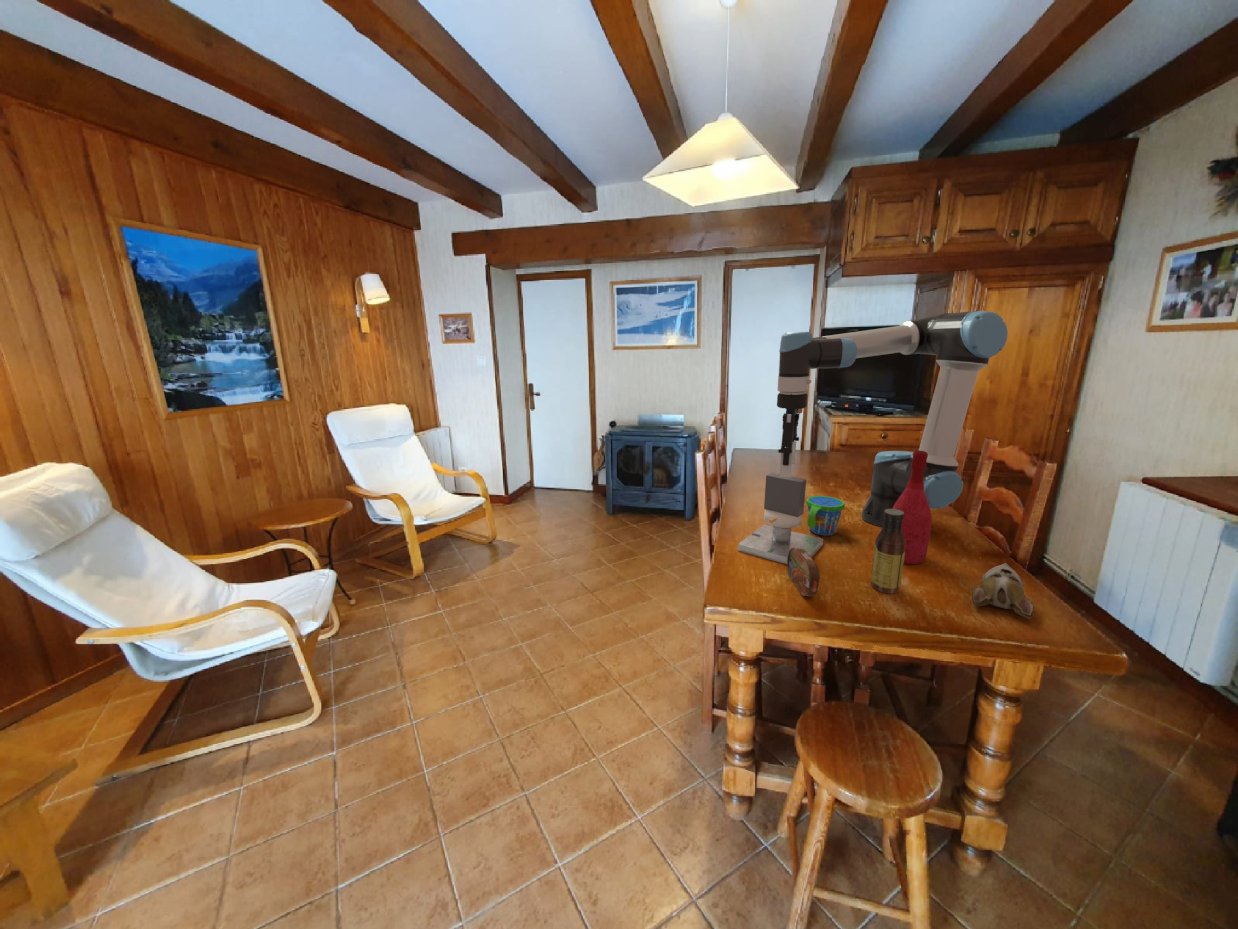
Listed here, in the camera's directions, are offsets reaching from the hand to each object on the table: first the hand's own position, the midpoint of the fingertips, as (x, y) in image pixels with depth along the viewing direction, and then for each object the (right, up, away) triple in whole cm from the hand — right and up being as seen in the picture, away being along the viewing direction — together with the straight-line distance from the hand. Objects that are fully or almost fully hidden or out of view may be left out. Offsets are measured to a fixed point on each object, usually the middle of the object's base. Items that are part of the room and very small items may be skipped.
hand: (787, 469), depth 128 cm
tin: (-2, -29, -15) cm, 32 cm away
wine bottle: (+31, -24, -1) cm, 40 cm away
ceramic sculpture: (+39, -30, -24) cm, 55 cm away
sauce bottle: (+17, -29, -16) cm, 37 cm away
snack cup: (+17, -20, +17) cm, 31 cm away
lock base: (0, -23, +6) cm, 23 cm away
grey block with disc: (-1, -15, +3) cm, 15 cm away
